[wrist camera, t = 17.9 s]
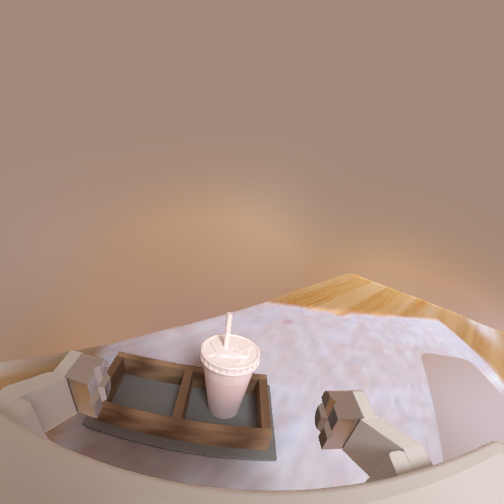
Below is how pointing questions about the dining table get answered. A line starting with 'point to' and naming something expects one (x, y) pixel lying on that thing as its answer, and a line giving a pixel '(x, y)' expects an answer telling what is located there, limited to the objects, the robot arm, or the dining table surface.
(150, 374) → the tray
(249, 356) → the smoothie
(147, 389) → the mat
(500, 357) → the dining table surface
